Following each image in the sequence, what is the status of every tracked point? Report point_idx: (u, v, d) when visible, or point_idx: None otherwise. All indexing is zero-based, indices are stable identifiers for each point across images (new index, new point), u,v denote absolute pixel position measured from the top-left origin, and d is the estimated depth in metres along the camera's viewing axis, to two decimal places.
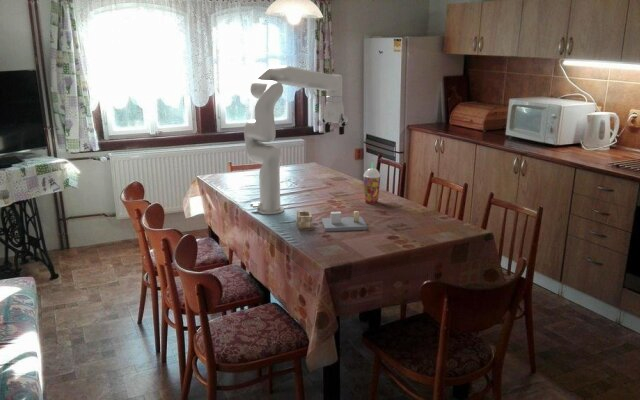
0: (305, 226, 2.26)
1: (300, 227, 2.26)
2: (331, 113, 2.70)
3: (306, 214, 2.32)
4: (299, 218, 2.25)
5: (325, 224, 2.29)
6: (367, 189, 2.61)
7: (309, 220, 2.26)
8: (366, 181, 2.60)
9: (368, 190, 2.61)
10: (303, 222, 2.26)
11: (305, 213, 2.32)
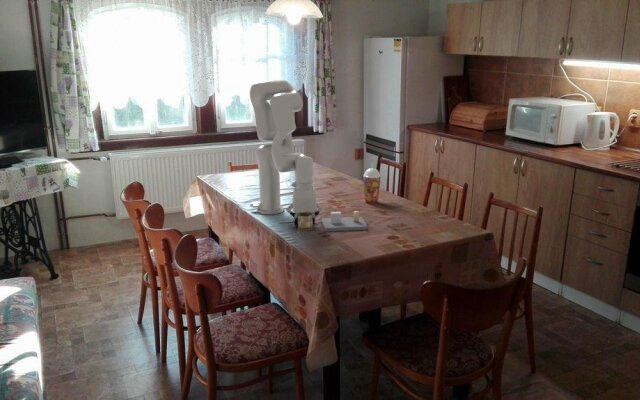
0: (305, 226, 2.26)
1: (300, 227, 2.26)
2: (305, 202, 2.25)
3: (306, 214, 2.32)
4: (299, 218, 2.25)
5: (325, 224, 2.29)
6: (367, 189, 2.61)
7: (309, 220, 2.26)
8: (366, 181, 2.60)
9: (368, 190, 2.61)
10: (303, 222, 2.26)
11: (305, 213, 2.32)
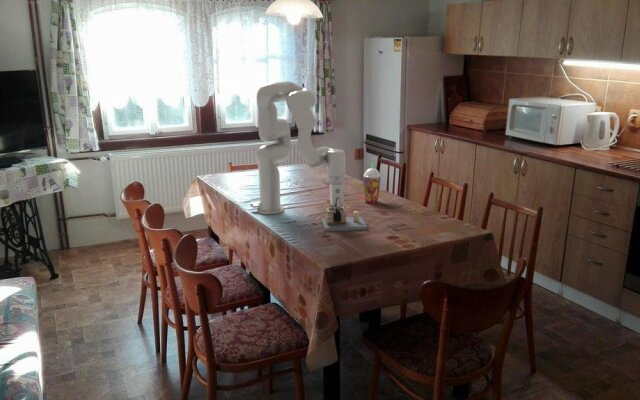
0: None
1: (345, 220, 2.30)
2: None
3: None
4: (345, 212, 2.28)
5: (325, 224, 2.29)
6: (367, 189, 2.61)
7: None
8: (366, 181, 2.60)
9: (368, 190, 2.61)
10: None
11: None
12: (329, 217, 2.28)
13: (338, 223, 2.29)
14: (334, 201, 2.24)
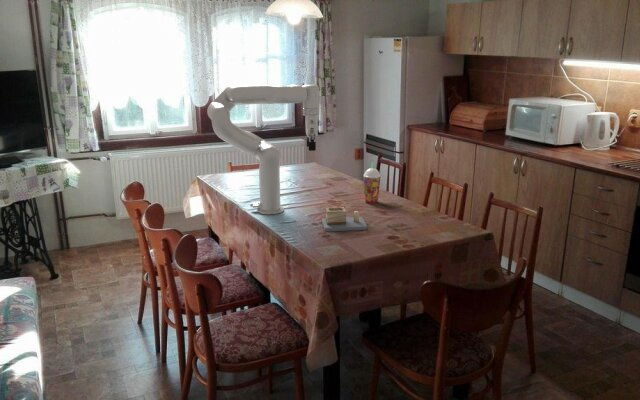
0: None
1: (345, 220, 2.30)
2: None
3: None
4: (345, 212, 2.28)
5: (325, 224, 2.29)
6: (367, 189, 2.61)
7: None
8: (366, 181, 2.60)
9: (368, 190, 2.61)
10: None
11: None
12: (329, 217, 2.28)
13: (338, 223, 2.29)
14: (309, 131, 2.44)
